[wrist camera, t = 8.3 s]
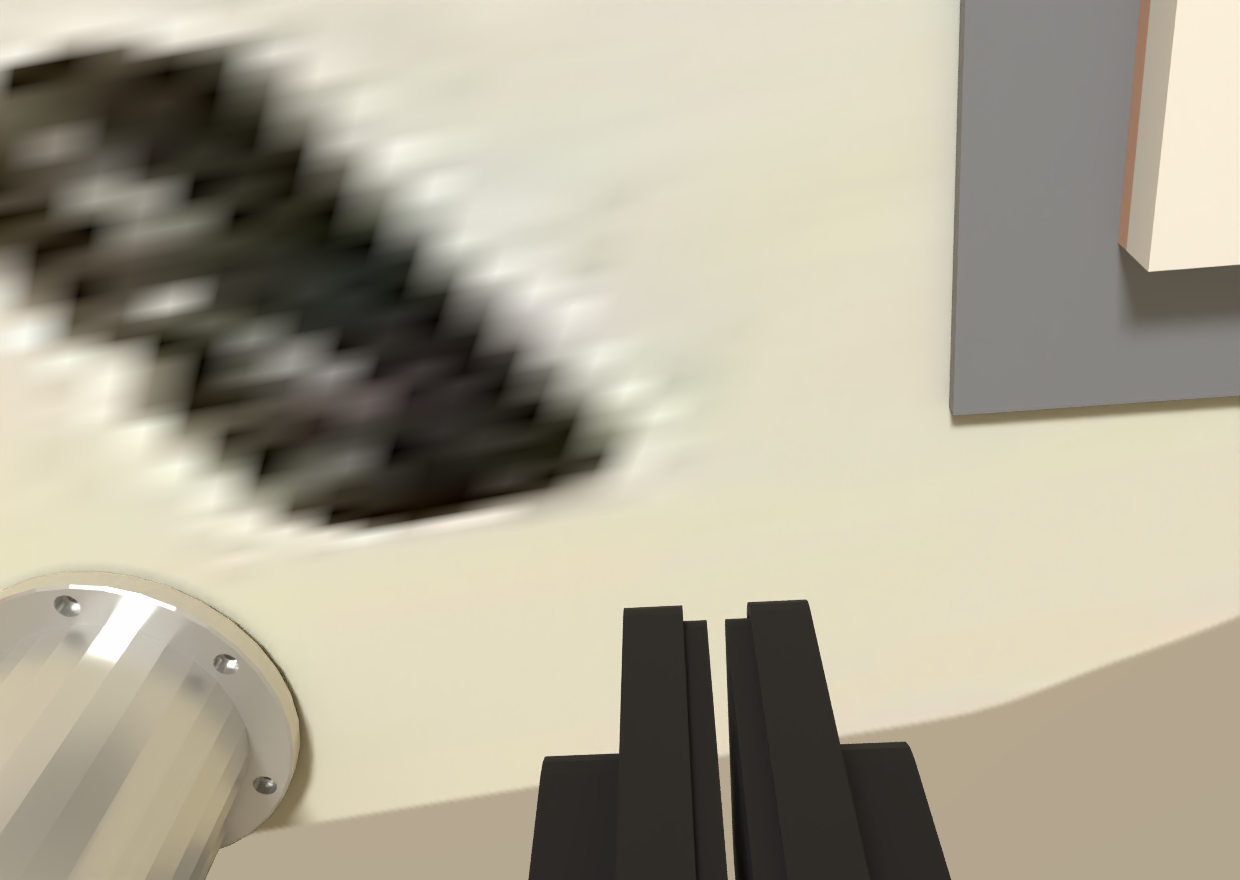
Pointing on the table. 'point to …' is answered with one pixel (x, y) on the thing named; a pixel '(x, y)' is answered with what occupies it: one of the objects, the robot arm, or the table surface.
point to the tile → (1184, 137)
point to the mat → (1065, 227)
